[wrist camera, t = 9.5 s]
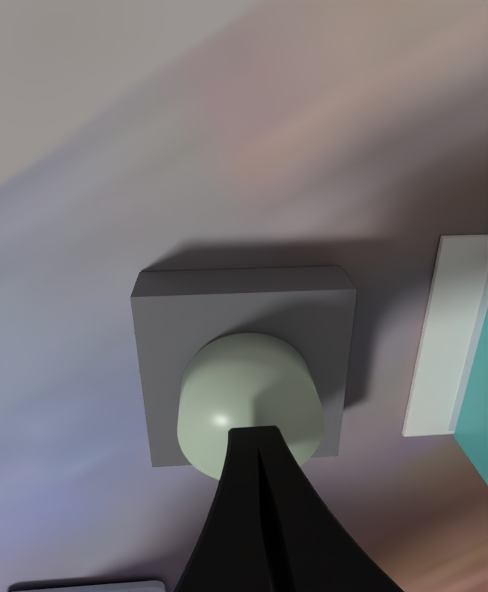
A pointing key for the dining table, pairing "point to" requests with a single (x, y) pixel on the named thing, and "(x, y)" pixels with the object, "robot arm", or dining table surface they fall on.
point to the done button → (246, 398)
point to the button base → (240, 319)
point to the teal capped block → (476, 409)
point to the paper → (449, 335)
